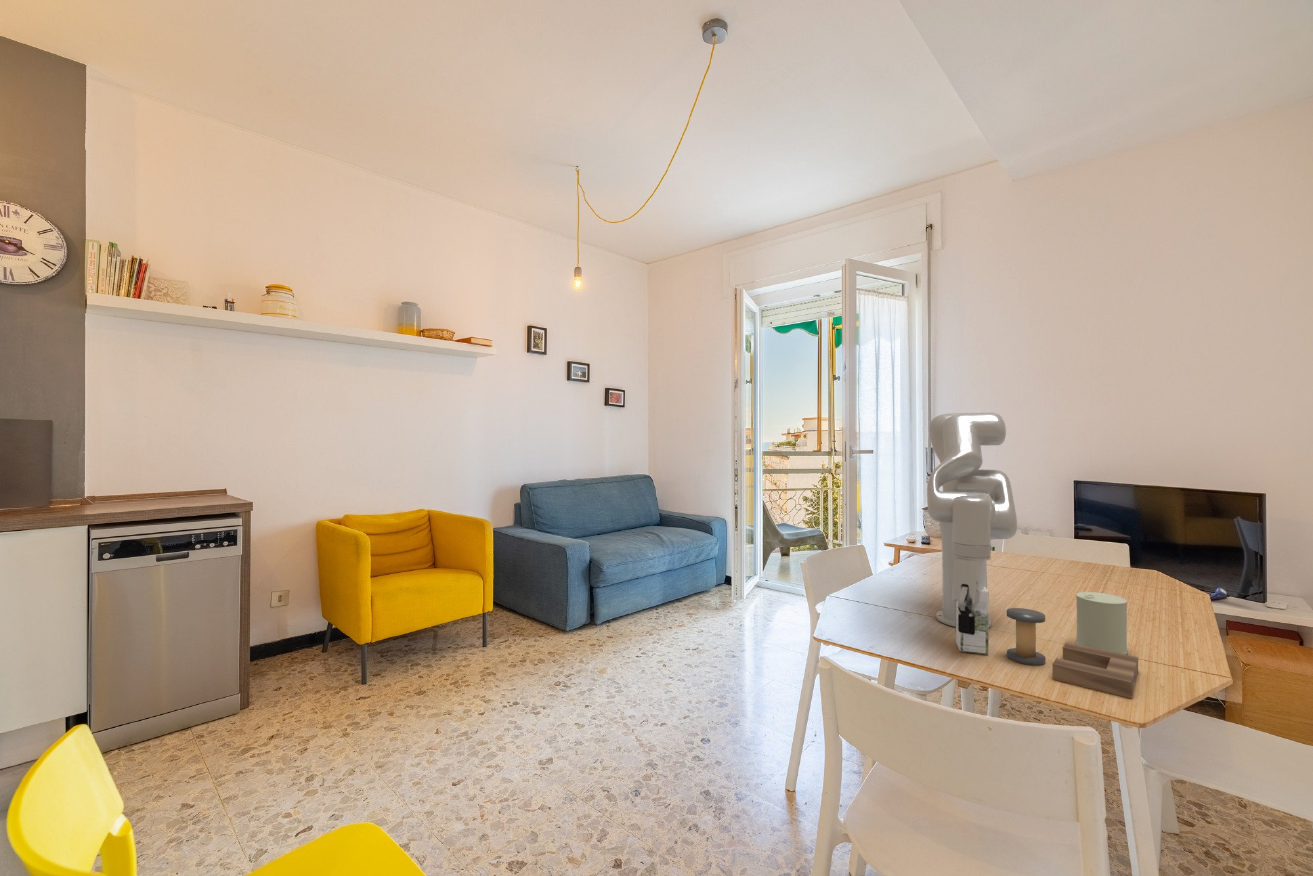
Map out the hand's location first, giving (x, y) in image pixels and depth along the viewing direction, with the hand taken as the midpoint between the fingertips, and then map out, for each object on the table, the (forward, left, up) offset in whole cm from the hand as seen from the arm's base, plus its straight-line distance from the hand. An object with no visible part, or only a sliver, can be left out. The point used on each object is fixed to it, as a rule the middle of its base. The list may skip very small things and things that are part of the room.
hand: (971, 628), depth 126 cm
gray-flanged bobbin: (-2, +10, -5) cm, 11 cm away
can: (-21, +21, -5) cm, 30 cm away
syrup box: (0, 0, -5) cm, 5 cm away
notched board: (-2, +22, -5) cm, 23 cm away
